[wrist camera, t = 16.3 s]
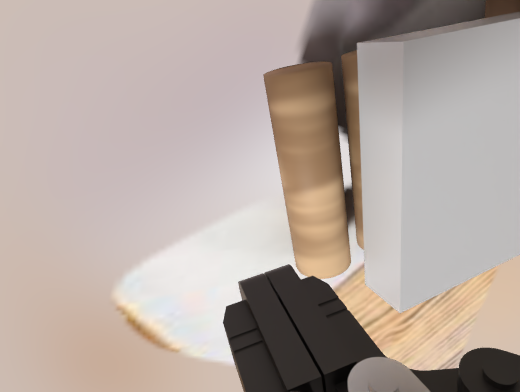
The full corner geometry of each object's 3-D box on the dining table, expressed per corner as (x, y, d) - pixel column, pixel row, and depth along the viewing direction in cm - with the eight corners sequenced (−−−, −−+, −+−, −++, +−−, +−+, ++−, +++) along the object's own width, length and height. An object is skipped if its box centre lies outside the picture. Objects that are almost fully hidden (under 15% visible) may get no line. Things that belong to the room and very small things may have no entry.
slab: (356, 42, 18) (403, 41, 15) (519, 11, 21) (579, 6, 19) (365, 284, 23) (400, 313, 21) (491, 228, 27) (534, 247, 24)
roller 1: (255, 74, 21) (277, 79, 17) (313, 60, 21) (345, 63, 18) (288, 256, 26) (309, 285, 23) (334, 240, 26) (361, 266, 23)
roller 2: (329, 56, 21) (363, 59, 18) (383, 43, 22) (424, 44, 19) (347, 235, 27) (375, 261, 23) (390, 220, 27) (424, 243, 24)
